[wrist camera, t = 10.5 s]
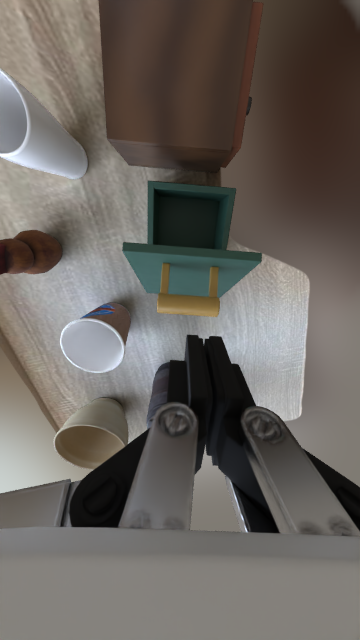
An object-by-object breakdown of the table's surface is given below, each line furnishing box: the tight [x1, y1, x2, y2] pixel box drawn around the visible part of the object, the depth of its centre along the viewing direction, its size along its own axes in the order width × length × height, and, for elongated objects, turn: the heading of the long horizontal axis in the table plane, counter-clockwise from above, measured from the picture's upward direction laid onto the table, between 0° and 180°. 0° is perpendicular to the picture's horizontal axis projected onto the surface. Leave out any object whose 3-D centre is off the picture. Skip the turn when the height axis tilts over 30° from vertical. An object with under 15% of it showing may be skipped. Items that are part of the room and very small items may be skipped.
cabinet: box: [99, 0, 253, 173], centre depth 25 cm, size 14×12×11 cm
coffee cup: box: [60, 303, 131, 373], centre depth 38 cm, size 10×10×12 cm
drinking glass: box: [0, 68, 88, 179], centre depth 25 cm, size 7×7×15 cm
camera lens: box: [147, 362, 170, 429], centre depth 43 cm, size 8×8×15 cm
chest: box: [148, 181, 236, 250], centre depth 33 cm, size 15×12×8 cm
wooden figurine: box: [0, 230, 62, 274], centre depth 31 cm, size 7×6×15 cm
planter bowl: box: [54, 398, 128, 470], centre depth 50 cm, size 16×16×11 cm
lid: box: [122, 242, 262, 317], centre depth 24 cm, size 15×12×5 cm
